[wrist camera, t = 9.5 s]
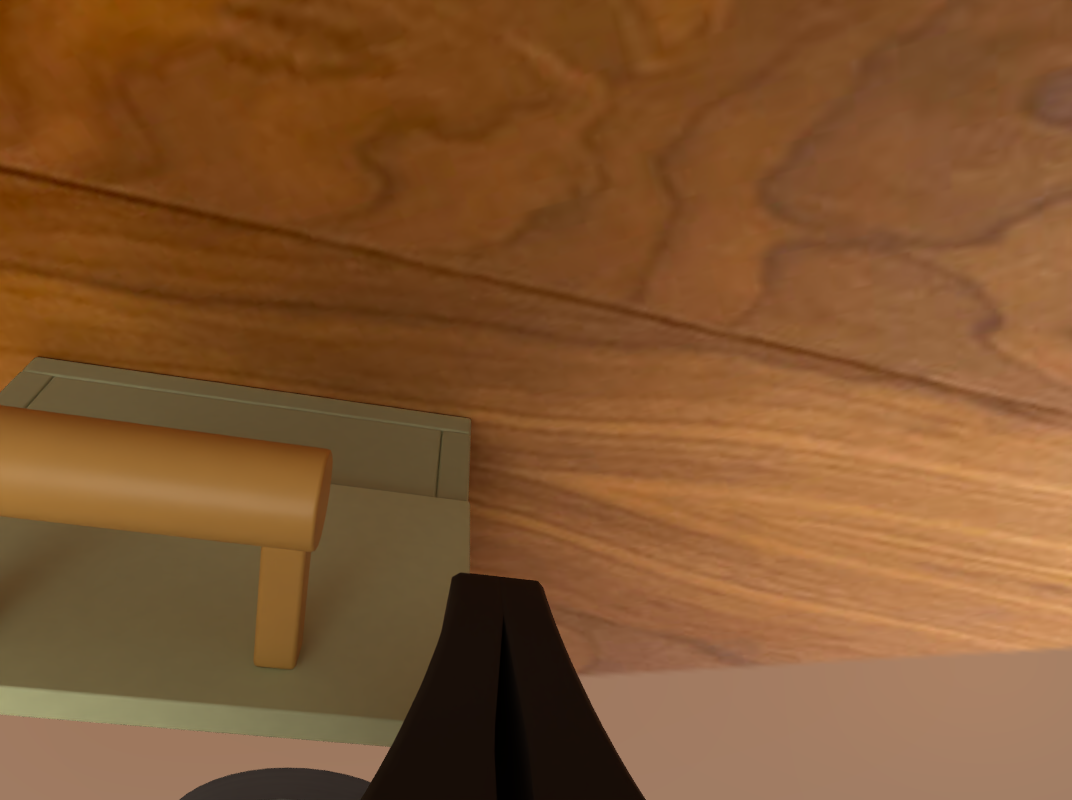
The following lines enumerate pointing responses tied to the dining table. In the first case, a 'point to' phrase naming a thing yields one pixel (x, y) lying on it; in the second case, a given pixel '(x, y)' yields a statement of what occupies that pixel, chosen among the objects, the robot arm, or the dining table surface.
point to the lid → (212, 583)
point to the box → (265, 422)
